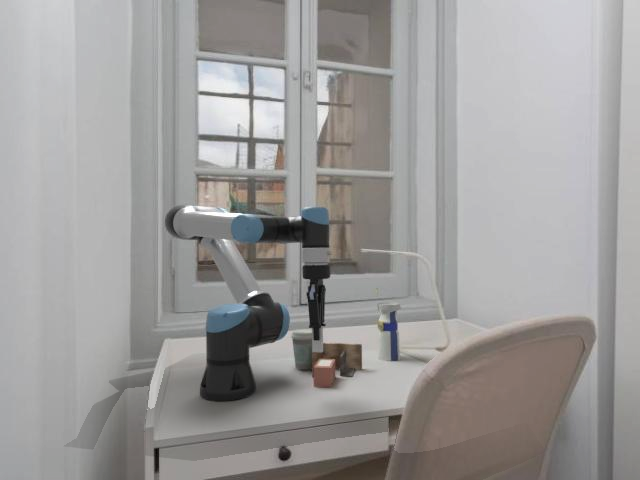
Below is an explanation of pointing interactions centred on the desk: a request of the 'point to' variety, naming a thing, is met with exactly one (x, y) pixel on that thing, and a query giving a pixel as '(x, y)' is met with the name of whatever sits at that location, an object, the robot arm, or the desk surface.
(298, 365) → the coffee cup
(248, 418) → the desk surface
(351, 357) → the shelf
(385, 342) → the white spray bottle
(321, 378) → the red box
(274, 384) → the desk surface
